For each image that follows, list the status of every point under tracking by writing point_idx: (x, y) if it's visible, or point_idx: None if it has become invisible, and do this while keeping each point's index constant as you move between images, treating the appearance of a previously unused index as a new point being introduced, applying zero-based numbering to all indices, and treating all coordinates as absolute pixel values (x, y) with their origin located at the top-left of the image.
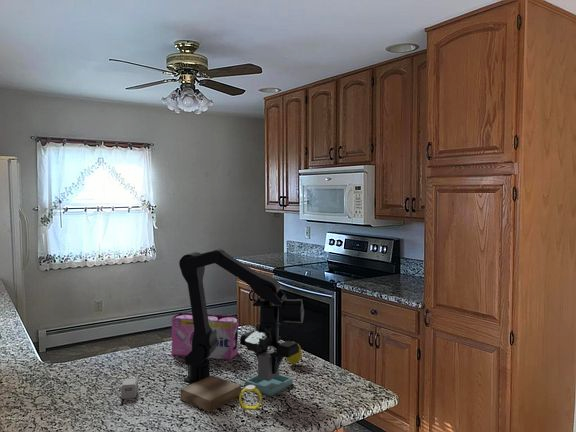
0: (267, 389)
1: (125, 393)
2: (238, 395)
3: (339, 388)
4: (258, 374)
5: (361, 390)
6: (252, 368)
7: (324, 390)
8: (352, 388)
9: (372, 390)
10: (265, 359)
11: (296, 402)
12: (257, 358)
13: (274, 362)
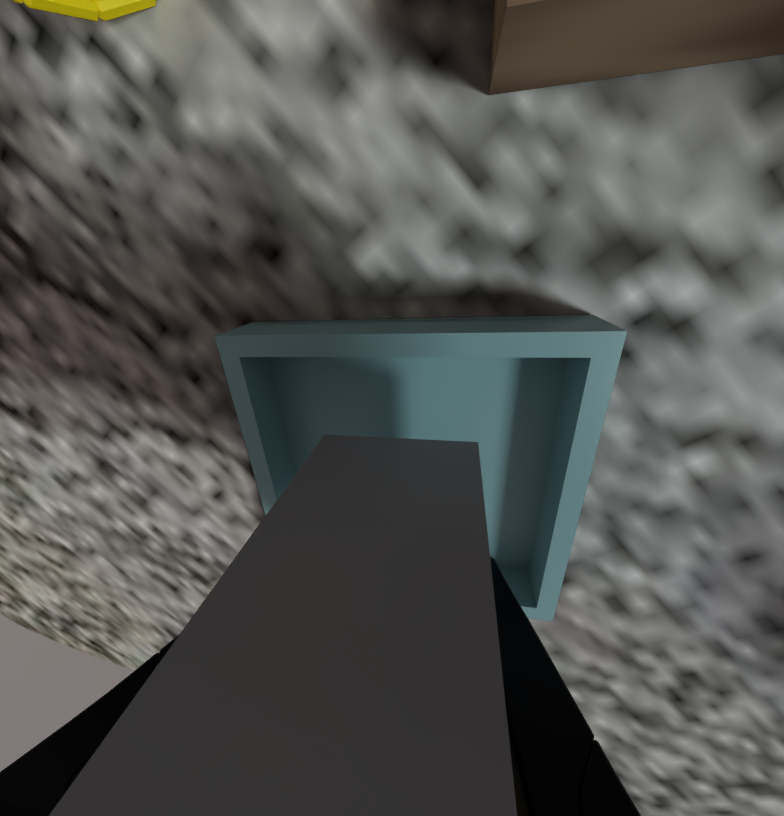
0: (266, 333)
1: None
2: (495, 10)
3: (134, 598)
4: (471, 466)
5: (79, 613)
6: (744, 632)
7: (148, 559)
8: (109, 615)
9: (63, 625)
10: (188, 781)
11: (86, 365)
12: (618, 783)
13: (114, 704)
